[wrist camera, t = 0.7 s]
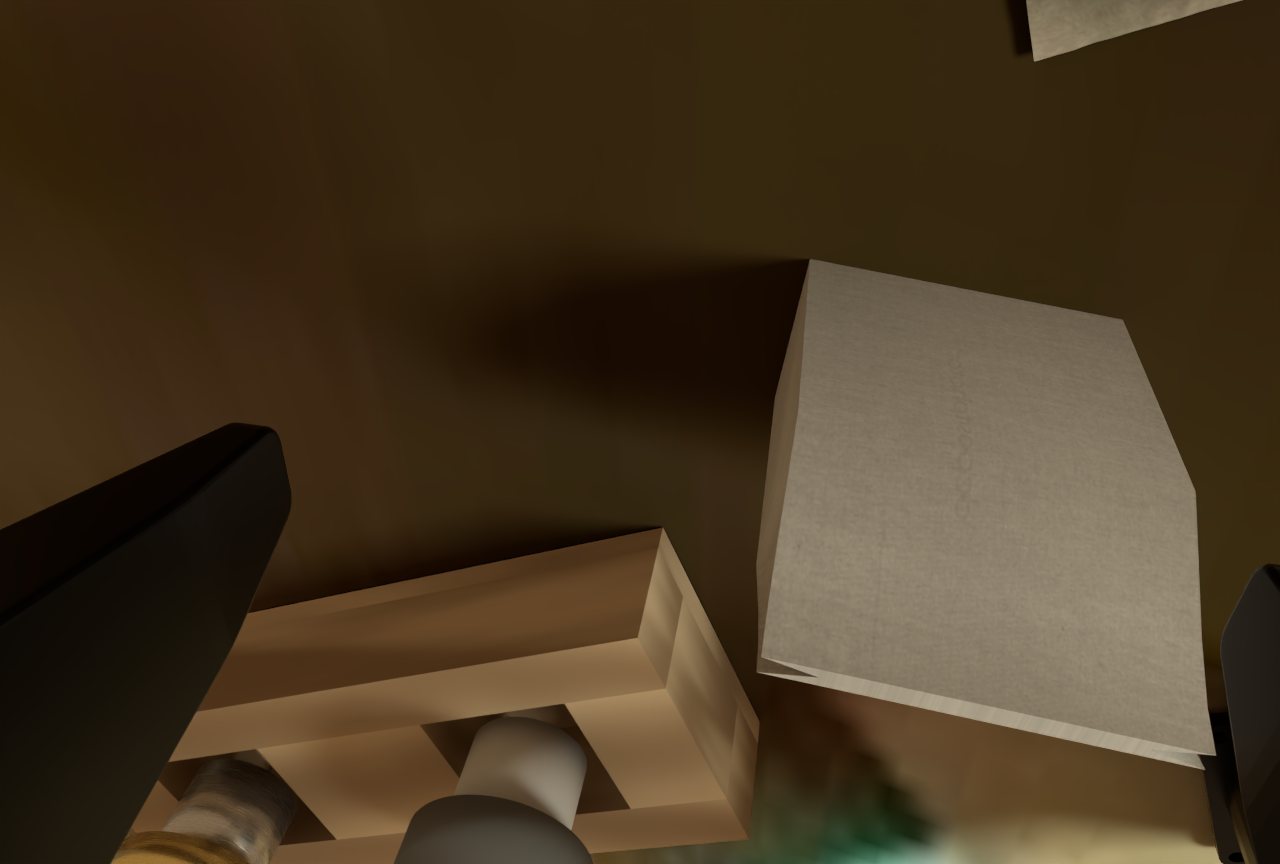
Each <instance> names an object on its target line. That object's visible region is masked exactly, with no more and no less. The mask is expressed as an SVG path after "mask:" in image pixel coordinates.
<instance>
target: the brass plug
mask: <svg viewBox="0 0 1280 864" xmlns="http://www.w3.org/2000/svg"><path fill="white" fill-rule="evenodd" d="M296 809H297V801H296V798H295V796H294V794H293V792H292V791H291V789H290V788H289V787H288V786H287V785H286V784H285V783H284V782H283V781H282V780H281V779H280V778H278V777H277V776H276V775H274V774H273V773H271V772H269V771H268V770H266V769H264V768H262V767H259V766H257V765H255V764H252V763H249V762H245V761H241V760H236V759H215V760H211V761H208V762H206V763H205V764H203V765H202V766H201V767H200V769H199V770H198V772H197V774H196V775H195V777H194V779H193V780H192V782H191V784H190V785H189V787H188V788H187V790H186V792H185V793H184V795H183V797H182V798H181V800H180V802H179V803H178V805H177V807H176V808H175V810H174V812H173V813H172V815H171V817H170V818H169V820H168V822H167V823H166V825H165V826H164V828H163V830H162V831H146V832H141V833H136V834H133V835H131V836H129V837H127V838H125V839H124V841H123V843H122V844H121V846H120V848H119V850H118V851H117V853H116V855H115V857H114V858H113V860H112V862H111V864H270V862H271V860H272V858H273V856H274V854H275V852H276V850H277V848H278V846H279V844H280V842H281V840H282V838H283V836H284V834H285V832H286V830H287V828H288V826H289V824H290V822H291V820H292V818H293V816H294V814H295V812H296Z"/></svg>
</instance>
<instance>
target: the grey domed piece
mask: <svg viewBox="0 0 1280 864" xmlns="http://www.w3.org/2000/svg"><path fill="white" fill-rule="evenodd" d="M586 769H587V759H586V756H585V753H584V751H583V750H582V748H581V747H580V745H579V744H578V743H577V742H576V741H575V740H574V739H573V738H572V737H571V736H570V735H569V734H567V733H566V732H564V731H563V730H561V729H559V728H558V727H556V726H553V725H551V724H549V723H546V722H543V721H540V720H537V719H532V718H527V717H503V718H498V719H495V720H492V721H490V722H488V723H486V724H485V725H483V726H482V727H481V728H480V729H479V730H478V732H477V733H476V735H475V738H474V740H473V743H472V746H471V749H470V751H469V754H468V757H467V760H466V763H465V765H464V768H463V771H462V774H461V776H460V779H459V782H458V785H457V787H456V790H455V793H454V796H448V797H443V798H440V799H437V800H434V801H432V802H429V803H427V804H426V805H424V806H423V807H421V808H420V809H419V810H418V811H417V812H416V813H415V814H414V815H413V817H412V819H411V821H410V823H409V826H408V828H407V831H406V833H405V836H404V838H403V841H402V844H401V846H400V849H399V851H398V854H397V856H396V859H395V861H394V864H593V862H592V859H591V856H590V854H589V852H588V850H587V848H586V847H585V845H584V844H583V843H582V841H581V840H580V839H579V838H578V837H577V836H576V835H575V834H574V833H573V832H572V831H571V830H572V826H573V822H574V818H575V814H576V810H577V806H578V802H579V798H580V794H581V790H582V786H583V782H584V778H585V773H586Z"/></svg>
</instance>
